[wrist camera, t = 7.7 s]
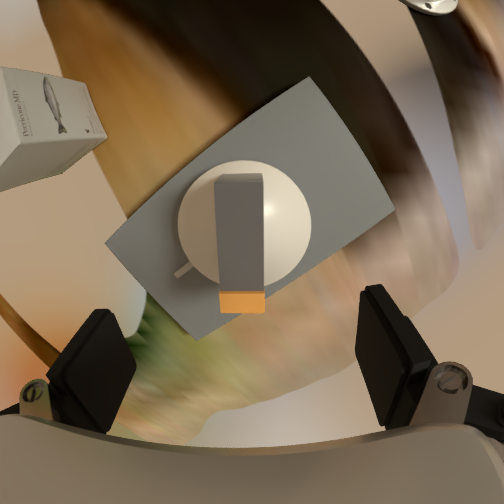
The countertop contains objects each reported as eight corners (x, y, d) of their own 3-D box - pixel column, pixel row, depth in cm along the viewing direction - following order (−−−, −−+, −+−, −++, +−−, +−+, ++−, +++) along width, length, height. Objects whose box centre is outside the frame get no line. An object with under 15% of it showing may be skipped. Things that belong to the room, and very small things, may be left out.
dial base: (305, 81, 21) (309, 76, 19) (387, 206, 26) (397, 212, 24) (113, 236, 27) (103, 243, 25) (201, 331, 31) (198, 343, 29)
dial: (176, 163, 22) (148, 171, 16) (310, 160, 22) (330, 167, 16) (187, 282, 26) (169, 322, 20) (305, 281, 26) (318, 322, 20)
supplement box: (110, 138, 23) (21, 147, 12) (61, 175, 25) (-25, 203, 13) (87, 80, 21) (1, 63, 9) (41, 120, 22) (-44, 127, 10)
